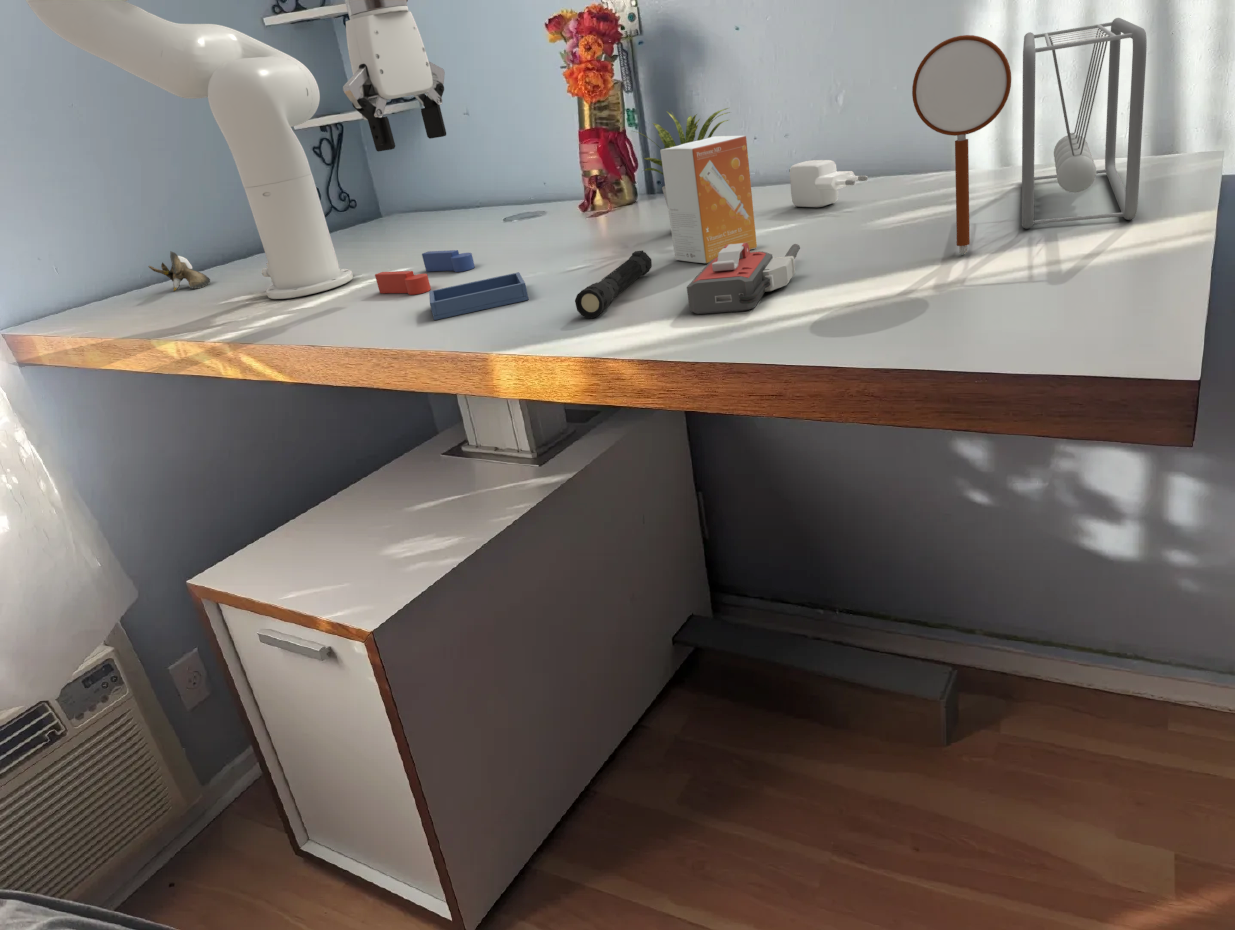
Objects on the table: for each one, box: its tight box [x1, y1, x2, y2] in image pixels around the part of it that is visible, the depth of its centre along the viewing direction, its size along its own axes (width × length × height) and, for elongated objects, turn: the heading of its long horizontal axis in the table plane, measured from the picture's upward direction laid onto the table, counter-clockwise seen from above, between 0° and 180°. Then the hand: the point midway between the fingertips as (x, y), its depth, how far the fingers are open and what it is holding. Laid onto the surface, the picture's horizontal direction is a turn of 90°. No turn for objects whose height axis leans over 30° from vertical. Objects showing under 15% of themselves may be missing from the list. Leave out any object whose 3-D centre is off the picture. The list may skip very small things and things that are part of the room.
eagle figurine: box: [148, 250, 211, 292], centre depth 157 cm, size 8×7×9 cm
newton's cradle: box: [1021, 17, 1148, 230], centre depth 102 cm, size 30×10×18 cm, turn 158°
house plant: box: [632, 107, 731, 208], centre depth 125 cm, size 14×14×16 cm
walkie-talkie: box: [686, 243, 801, 315], centre depth 93 cm, size 9×4×20 cm
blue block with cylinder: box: [421, 249, 476, 273], centre depth 131 cm, size 8×3×3 cm, turn 57°
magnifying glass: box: [911, 34, 1012, 256], centre depth 88 cm, size 9×2×20 cm, turn 65°
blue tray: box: [428, 271, 529, 321], centre depth 108 cm, size 11×7×2 cm, turn 102°
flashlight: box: [574, 250, 653, 319], centre depth 100 cm, size 3×16×3 cm, turn 160°
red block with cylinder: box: [374, 270, 432, 296], centre depth 122 cm, size 8×3×3 cm, turn 57°
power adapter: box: [789, 159, 869, 208], centre depth 126 cm, size 11×5×6 cm, turn 37°
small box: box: [659, 135, 758, 264], centre depth 108 cm, size 8×6×13 cm
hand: (412, 143), depth 124 cm, fingers open, 9 cm apart
